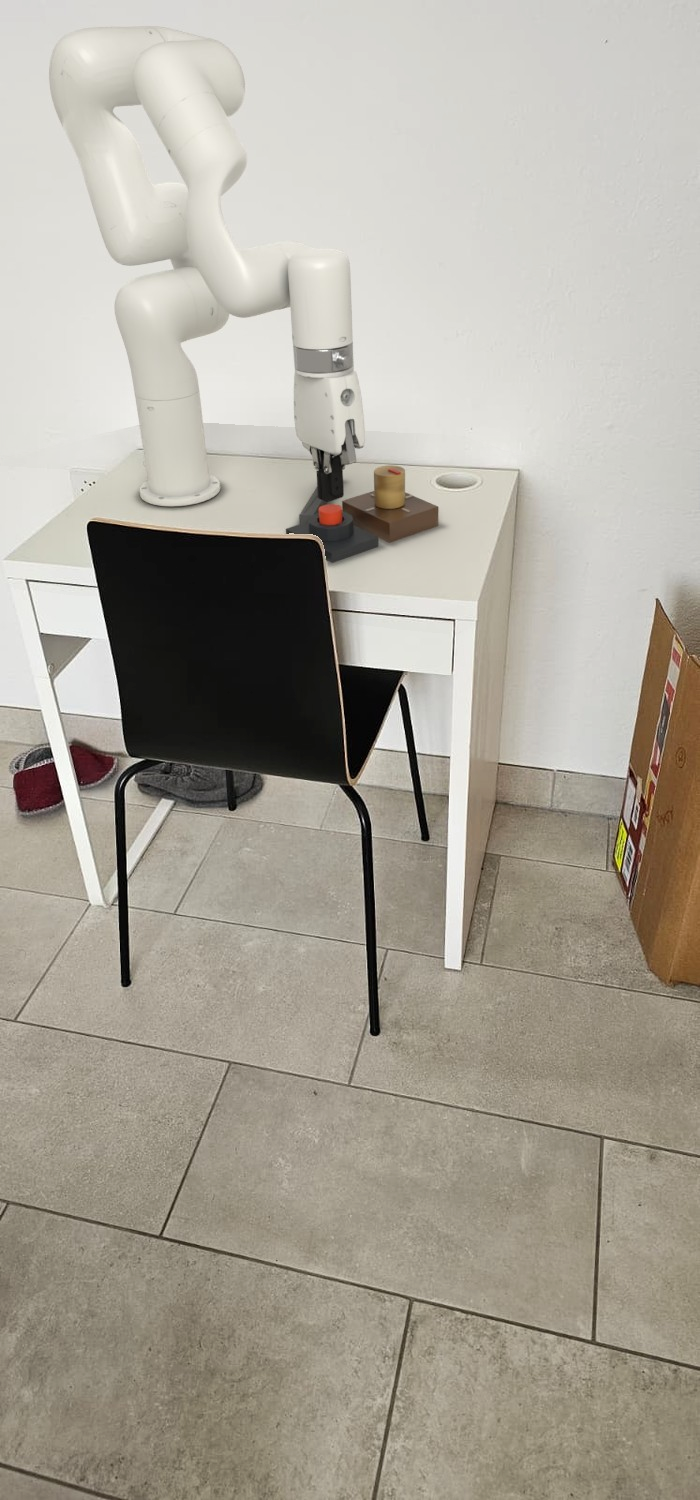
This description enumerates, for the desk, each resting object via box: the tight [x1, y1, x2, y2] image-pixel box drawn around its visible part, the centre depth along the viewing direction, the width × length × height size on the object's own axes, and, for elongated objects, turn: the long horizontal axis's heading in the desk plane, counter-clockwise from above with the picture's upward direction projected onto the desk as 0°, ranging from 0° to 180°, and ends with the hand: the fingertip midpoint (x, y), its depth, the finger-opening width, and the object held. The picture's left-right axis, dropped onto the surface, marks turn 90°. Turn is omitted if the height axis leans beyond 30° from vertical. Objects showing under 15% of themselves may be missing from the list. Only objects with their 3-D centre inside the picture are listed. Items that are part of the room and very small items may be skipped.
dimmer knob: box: [373, 464, 406, 509], centre depth 144 cm, size 4×4×5 cm
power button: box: [319, 503, 342, 525], centre depth 140 cm, size 3×3×2 cm
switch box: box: [285, 512, 379, 564], centre depth 141 cm, size 11×8×4 cm
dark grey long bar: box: [298, 487, 329, 524], centre depth 153 cm, size 19×3×4 cm, turn 168°
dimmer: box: [341, 490, 439, 544], centre depth 146 cm, size 11×9×3 cm
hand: (330, 497), depth 138 cm, fingers closed
